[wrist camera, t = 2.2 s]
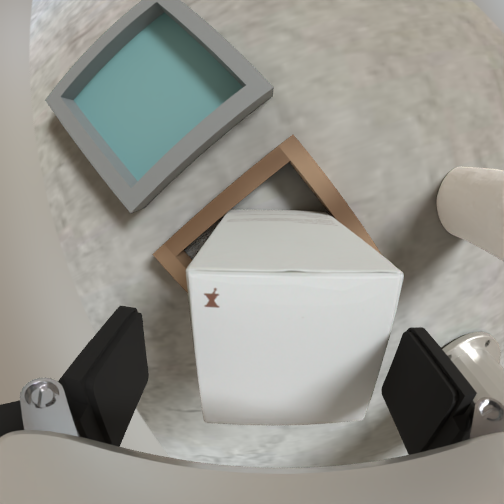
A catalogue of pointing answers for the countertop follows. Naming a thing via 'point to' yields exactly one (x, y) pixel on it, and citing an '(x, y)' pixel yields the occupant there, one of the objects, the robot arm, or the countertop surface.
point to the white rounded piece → (474, 207)
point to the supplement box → (289, 319)
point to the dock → (154, 97)
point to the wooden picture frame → (287, 151)
